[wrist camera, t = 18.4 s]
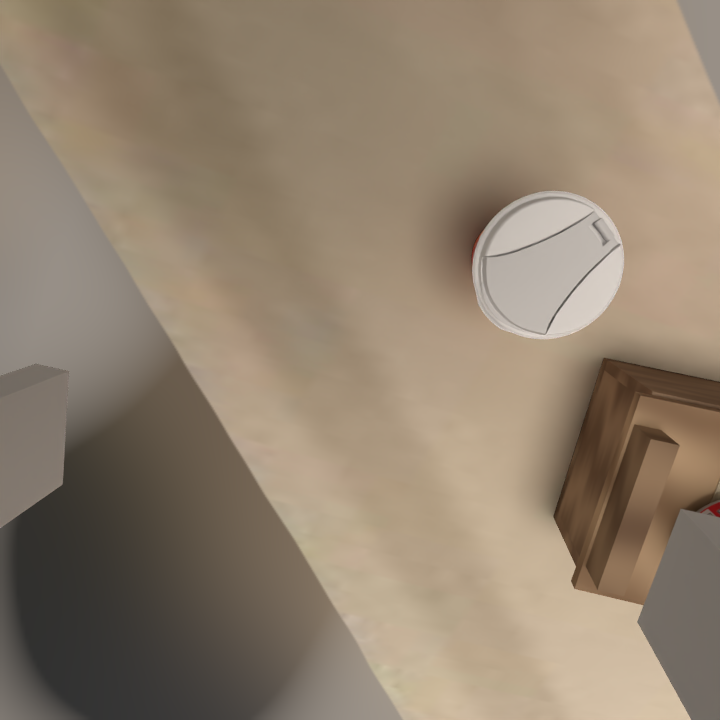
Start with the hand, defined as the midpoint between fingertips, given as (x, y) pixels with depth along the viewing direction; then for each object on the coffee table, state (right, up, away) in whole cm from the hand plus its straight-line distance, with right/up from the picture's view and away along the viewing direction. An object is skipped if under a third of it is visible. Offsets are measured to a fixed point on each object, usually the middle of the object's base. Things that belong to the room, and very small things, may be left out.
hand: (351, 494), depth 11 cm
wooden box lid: (+22, -7, +23) cm, 32 cm away
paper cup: (+11, +11, +29) cm, 33 cm away
